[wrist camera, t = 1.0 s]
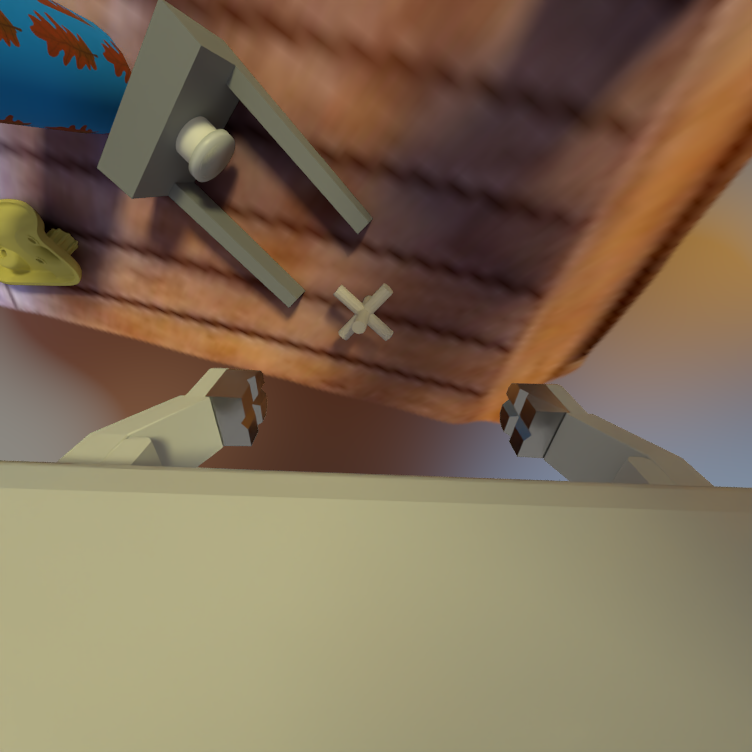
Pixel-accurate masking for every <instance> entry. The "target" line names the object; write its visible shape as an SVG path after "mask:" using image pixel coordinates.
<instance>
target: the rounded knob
mask: <svg viewBox="0 0 752 752" xmlns="http://www.w3.org/2000/svg"><path fill="white" fill-rule="evenodd" d="M234 149H235V141H234V139H233V137H232V136H231V135H230V134H229V133H228V132H227V131H226V130H224V129H218V130H217V129H216V128H215V127H214V126H213V125H212V124H211V123H210V122H209V121H208V120H207V119H206V118H205V117H202V116H199V117H195V118H193V119H191V120H190V121H189V122H187V123H186V124H185V125H184V127H183V128H182V129H181V131H180V133H179V134H178V137H177V140H176V150H177V152H178V153H179V154H180V155H181V156H182V157H183V158H184V159H185V160H186V161H187V162H188V163H189V172H190V174H191V175H192V176H193V177H194V178H195V179H196V180H197V181H199V182H207V181H209V180H211V179H213V178H215V177H216V176H217V175H218V174H220V173H221V172H222V170H223V169H224V168H225V167H226V166H227V164H228V163H229V161H230V159H231V157H232V155H233V153H234Z"/></svg>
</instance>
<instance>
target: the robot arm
mask: <svg viewBox="0 0 752 752" xmlns="http://www.w3.org/2000/svg"><path fill="white" fill-rule="evenodd" d="M264 383H265V382H264V377H263V373H262V372H261V371H258V370H243V369H228V368H211V369H209V370H208V372H207V373H206V374H205V375H204V376H203V377H202V378H201V379H200V380H199V381H198V383H197V384H196V385H195V386H194V387H193V388H192V389H191V390H190V391H189V392H188V394H187V395H186V396H178V397H176V398H173V399H171V400H169V401H166V402H164V403H161V404H159V405H157V406H154V407H152V408H149V409H147V410H145V411H143V412H140V413H138V414H135V415H133V416H131V417H128V418H126V419H123V420H121V421H119V422H116V423H114V424H112V425H109V426H107V427H104V428H102V429H100V430H97V431H95V432H92V433H90V434H89V435H87V436H86V437H85V438H84V439H83V440H82V441H81V442H79V443H78V444H77V445H76V446H75V447H74V448H72V449H71V450H70V451H69V452H68V453H67V454H66V455H65V456H63V457H62V458H61V459H60V460H59V461H58V462H56V463H55V462H28V461H1V460H0V752H752V488H742V487H741V488H740V487H714V486H713V485H712V484H711V483H710V482H709V481H707V480H706V479H705V478H704V477H703V476H702V475H701V474H699V473H698V472H697V471H696V470H695V469H694V468H693V467H692V466H690V465H689V464H688V463H687V462H686V461H685V460H684V459H682V458H681V457H679V456H677V455H675V454H673V453H671V452H669V451H667V450H665V449H663V448H661V447H659V446H657V445H655V444H653V443H650V442H648V441H646V440H644V439H642V438H640V437H638V436H636V435H634V434H632V433H630V432H628V431H626V430H624V429H622V428H620V427H618V426H616V425H614V424H612V423H610V422H608V421H605V420H604V419H602V418H600V417H598V416H596V415H593V414H588V413H587V412H586V411H585V410H584V409H583V408H582V407H581V406H580V405H579V404H578V403H577V402H576V401H575V400H574V399H573V398H572V396H571V395H570V394H569V393H568V392H567V391H566V390H565V389H564V388H563V387H562V386H560V385H558V384H518V383H512V384H511V385H510V386H509V388H508V391H507V393H506V394H507V396H508V399H509V400H508V401H506V402H505V403H504V404H503V405H502V408H501V411H500V423H501V427H502V429H503V431H504V432H505V433H506V434H508V435H510V436H511V438H510V441H509V442H510V444H511V446H512V448H513V450H514V451H515V453H516V455H517V457H532V458H544V460H545V461H546V462H547V463H548V464H550V465H551V466H552V467H553V468H554V469H556V470H557V471H558V472H559V473H560V474H562V475H563V476H564V477H565V478H567V479H568V480H569V481H549V480H520V479H494V478H466V477H437V476H410V475H383V474H355V473H354V474H353V473H329V472H328V473H327V472H301V471H274V470H273V471H272V470H247V469H219V468H196V467H198V466H199V465H200V464H201V463H203V462H204V461H206V460H207V459H208V458H209V457H211V456H212V455H213V454H214V453H216V452H217V451H219V450H220V449H221V448H222V447H223V446H252V444H253V441H254V439H255V437H256V435H257V433H258V424H260V423H262V422H263V420H264V418H265V416H266V411H267V395H266V393H265V392H264V391H263V390H262V389H261V388H262V386H263V384H264Z"/></svg>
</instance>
